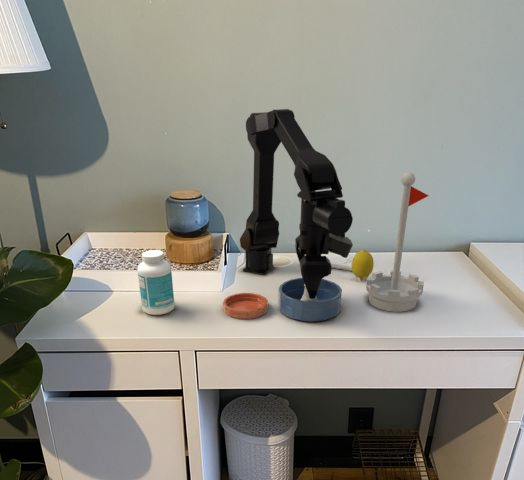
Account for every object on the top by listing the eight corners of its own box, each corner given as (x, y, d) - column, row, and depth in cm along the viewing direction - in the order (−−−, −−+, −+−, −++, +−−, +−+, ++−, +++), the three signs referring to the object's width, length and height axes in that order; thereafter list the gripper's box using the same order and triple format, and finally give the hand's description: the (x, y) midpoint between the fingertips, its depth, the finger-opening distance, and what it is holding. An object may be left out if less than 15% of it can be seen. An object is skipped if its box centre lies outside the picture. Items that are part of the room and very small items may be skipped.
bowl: (268, 314, 126) (268, 294, 123) (293, 292, 137) (294, 273, 135) (327, 328, 120) (328, 307, 118) (348, 303, 131) (350, 284, 129)
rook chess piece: (318, 303, 130) (320, 271, 126) (318, 311, 126) (320, 278, 122) (299, 302, 131) (301, 270, 127) (299, 310, 127) (300, 277, 123)
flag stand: (375, 315, 126) (390, 180, 111) (357, 292, 137) (369, 166, 122) (429, 311, 128) (451, 178, 113) (408, 289, 139) (425, 165, 124)
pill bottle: (180, 305, 130) (176, 249, 124) (165, 318, 124) (160, 260, 118) (151, 300, 132) (146, 246, 126) (136, 313, 126) (129, 256, 120)
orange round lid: (215, 313, 126) (214, 305, 125) (237, 297, 134) (236, 289, 133) (254, 323, 122) (254, 314, 121) (275, 305, 130) (275, 297, 129)
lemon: (358, 285, 141) (361, 254, 137) (346, 277, 146) (348, 248, 142) (376, 281, 144) (379, 251, 140) (363, 274, 148) (366, 245, 144)
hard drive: (322, 256, 160) (365, 262, 155) (312, 265, 153) (356, 272, 149) (323, 250, 159) (365, 257, 155) (313, 259, 153) (357, 266, 148)
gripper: (358, 235, 111) (352, 307, 118) (344, 210, 127) (339, 274, 135) (303, 236, 110) (300, 307, 118) (296, 210, 127) (294, 274, 134)
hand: (310, 290), depth 126 cm, fingers open, 9 cm apart
